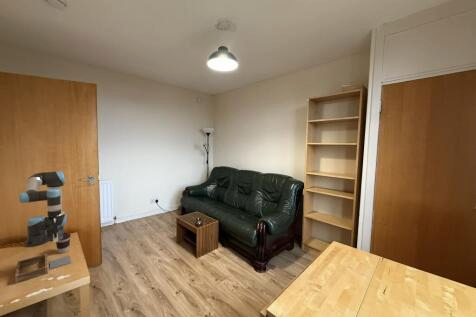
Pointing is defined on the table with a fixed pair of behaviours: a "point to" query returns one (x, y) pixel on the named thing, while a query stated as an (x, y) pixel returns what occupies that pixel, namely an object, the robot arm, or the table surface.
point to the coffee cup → (63, 243)
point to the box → (50, 231)
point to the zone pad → (60, 262)
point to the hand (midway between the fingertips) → (55, 239)
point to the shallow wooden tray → (33, 273)
